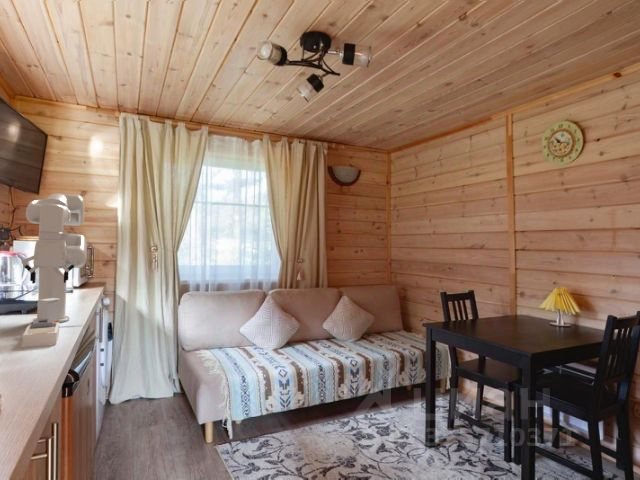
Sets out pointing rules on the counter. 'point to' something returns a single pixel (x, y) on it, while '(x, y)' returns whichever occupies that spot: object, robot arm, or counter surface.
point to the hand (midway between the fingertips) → (49, 282)
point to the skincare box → (49, 309)
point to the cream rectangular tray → (40, 336)
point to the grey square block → (43, 323)
